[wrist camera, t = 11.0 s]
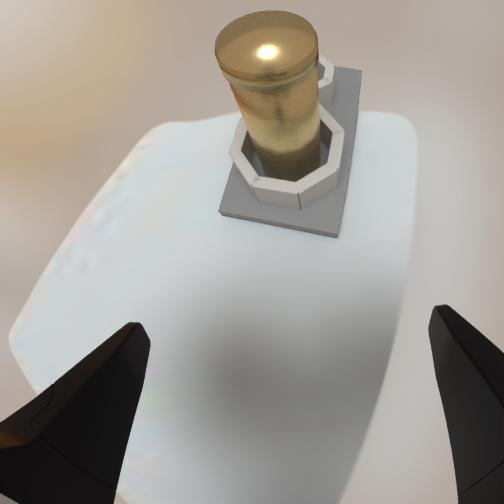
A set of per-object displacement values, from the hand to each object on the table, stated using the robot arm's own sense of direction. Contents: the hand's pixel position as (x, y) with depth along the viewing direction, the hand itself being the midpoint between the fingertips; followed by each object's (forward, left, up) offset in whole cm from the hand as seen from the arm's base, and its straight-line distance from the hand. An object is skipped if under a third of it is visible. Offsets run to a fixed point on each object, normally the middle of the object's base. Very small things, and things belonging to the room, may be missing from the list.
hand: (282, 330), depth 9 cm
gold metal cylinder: (+12, +4, -13) cm, 17 cm away
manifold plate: (+15, +4, -14) cm, 20 cm away
